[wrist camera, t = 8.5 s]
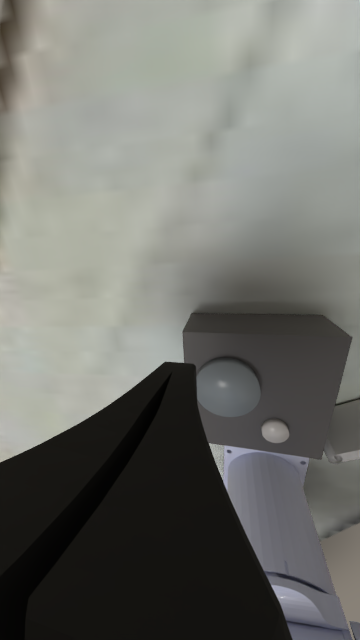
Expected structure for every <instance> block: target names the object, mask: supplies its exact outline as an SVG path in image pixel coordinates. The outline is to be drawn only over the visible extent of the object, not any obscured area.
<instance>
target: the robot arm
mask: <svg viewBox="0 0 360 640" xmlns="http://www.w3.org/2000/svg"><path fill="white" fill-rule="evenodd" d="M308 464H309V458H307V457H300V456H293V455H286V454H280V453H273V452H266V451H259V450H253V449H246V448H239V447H232V446H226V445H224V481H223V480H222V478H221V475H220V473H219V470H218V468H217V465H216V463H215V460H214V457H213V455H212V452H211V449H210V446H209V443H208V440H207V437H206V434H205V431H204V428H203V424H202V421H201V417H200V413H199V409H198V404H197V379H196V366H195V365H194V364H191V363H176V362H164V363H163V364H162V365H161V366H159V367H158V368H157V369H156V370H155V371H153V372H152V373H151V374H150V375H148V376H147V377H146V378H145V379H143V380H142V381H141V382H140V383H138V384H137V385H136V386H135V387H133V388H132V389H131V390H129V391H128V392H127V393H125V394H124V395H122V396H121V397H120V398H118V399H117V400H115V401H114V402H113V403H111V404H110V405H108V406H107V407H105V408H104V409H102V410H101V411H99V412H98V413H96V414H94V415H93V416H91V417H89V418H88V419H86V420H84V421H83V422H81V423H79V424H77V425H76V426H74V427H72V428H70V429H68V430H66V431H64V432H62V433H61V434H59V435H57V436H55V437H53V438H51V439H49V440H47V441H45V442H43V443H42V444H40V445H37V446H35V447H33V448H31V449H29V450H27V451H25V452H23V453H21V454H18V455H16V456H14V457H12V458H10V459H7V460H5V461H3V462H1V463H0V640H352V637H351V634H350V631H349V628H348V625H347V622H346V619H345V615H344V612H343V609H342V606H341V603H340V599H339V597H338V596H337V595H336V592H335V589H334V586H333V583H332V580H331V576H330V573H329V570H328V567H327V564H326V560H325V557H324V554H323V551H322V548H321V544H320V541H319V538H318V534H317V531H316V528H315V525H314V522H313V518H312V515H311V512H310V509H309V505H308V502H307V499H306V496H305V493H304V489H303V486H304V481H305V477H306V472H307V468H308ZM350 625H351V629H352V632H353V635H354V638H355V640H360V623H359V622H353V621H350Z"/></svg>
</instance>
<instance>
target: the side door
mask: <svg viewBox="0 0 360 640" xmlns="http://www.w3.org/2000/svg"><path fill="white" fill-rule="evenodd" d="M324 452H325V454H326V456H327V458H328V460H329V462H331V463H334V464H338V463H341V462H346V461H351V460H356V459H360V399H359V400H356V401H352V402H349V403H345V404H341V405H338V406H335V407H334V411H333V415H332V419H331V423H330V427H329V431H328V435H327V439H326V443H325V447H324Z"/></svg>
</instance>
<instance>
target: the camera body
mask: <svg viewBox="0 0 360 640" xmlns="http://www.w3.org/2000/svg"><path fill="white" fill-rule="evenodd" d="M351 340H352V337H351V336H350V335H348V334H347V333H346V332H344V331H343V330H342V329H340V328H339V327H338V326H336V325H335V324H334V323H332V322H331V321H330V320H329V319H327V318H326V317H325V316H323V315H284V314H205V313H192V314H191V316H190V318H189V320H188V322H187V324H186V326H185V328H184V330H183V348H184V363H191V364H194V365H195V366H196V379H197V404H198V409H199V413H200V417H201V421H202V424H203V428H204V431H205V434H206V437H207V440H208V443H212V444H219V445H226V446H232V447H239V448H246V449H253V450H259V451H266V452H273V453H280V454H286V455H293V456H300V457H307V458H313V459H320V460H321V459H322V455H323V451H324V447H325V443H326V439H327V435H328V431H329V427H330V423H331V419H332V415H333V411H334V407H335V403H336V399H337V395H338V392H339V388H340V384H341V380H342V376H343V372H344V368H345V364H346V360H347V356H348V352H349V348H350V344H351Z"/></svg>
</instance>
